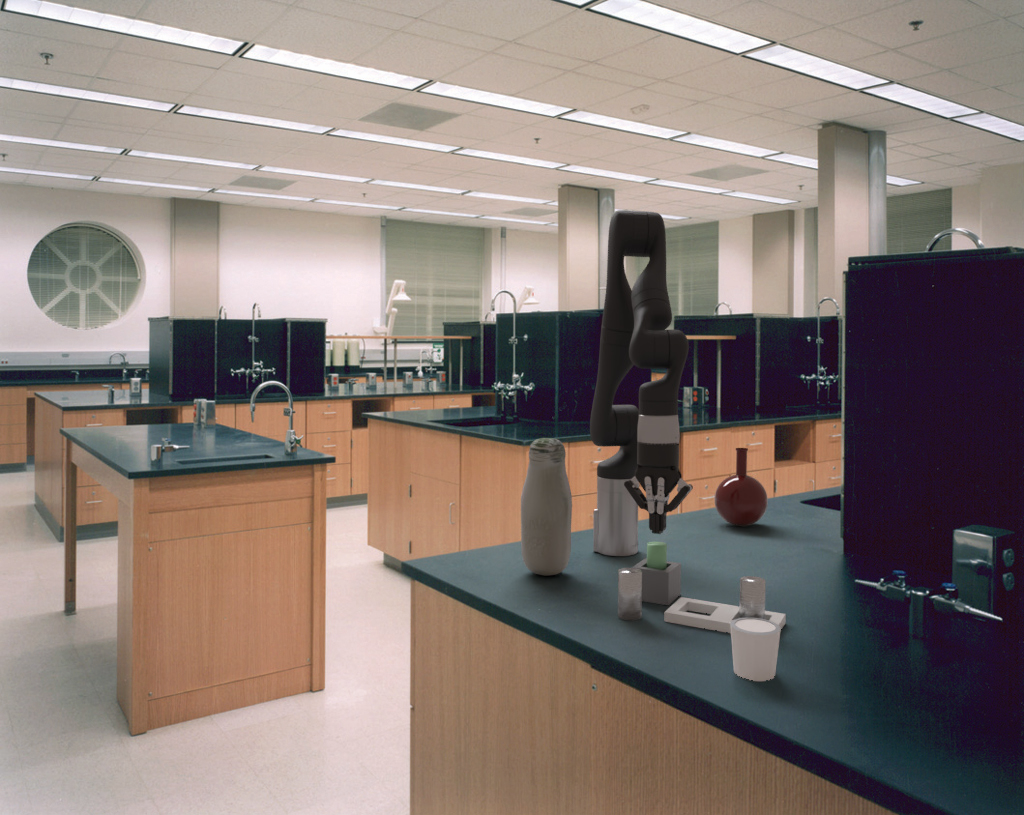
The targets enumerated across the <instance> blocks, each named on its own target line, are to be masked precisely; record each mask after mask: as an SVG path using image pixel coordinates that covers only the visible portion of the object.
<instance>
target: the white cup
mask: <svg viewBox="0 0 1024 815" xmlns="http://www.w3.org/2000/svg"><path fill="white" fill-rule="evenodd" d="M730 628H731V633H730V638H731V639H730V640H731V652H732V663H733V672H734V674H735V675H736V674H737V675H736V676H738V677H739V676H740V677H739V678H741V677H742V678H741V679H744V678H746V679H749V680H748V681H751V680H753V681H752V682H767V681H766V680H768V681H771V680H773V679H774V678H775V677H774V676H776V673H777V672H776V671H777V663H778V657H779V656H778V654H779V646H780V638H781V632H782V630H781V628H780V626H779V625H778V624H776V623H774V622H772V621H768V620H765V619H759V618H738V619H735V620H733V621H732V622H731V623H730ZM746 679H745V680H746ZM770 679H771V680H770Z"/></svg>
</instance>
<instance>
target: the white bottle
mask: <svg viewBox="0 0 1024 815" xmlns="http://www.w3.org/2000/svg"><path fill="white" fill-rule="evenodd" d="M529 446H530V447H529V449H528V460H529V462H528V466H527V470H526V476H525V480H524V483H523V487H522V490H521V495H520V536H521V537H520V538H521V539H520V543H521V545H520V546H521V547H520V548H521V557H522V562H523V563H524V566H525V567H526V568H527V569H528V570H529V571H530V572H532V573H533V574H536V575H540V576H545V577H547V576H554V575H558V574H560V573H561V572H563V571H564V570H565V569H566V568H567V567H568V564H569V561H570V557H571V552H572V550H571V549H572V514H573V513H572V511H573V497H572V496H573V495H572V492H571V486H570V481H569V478H568V474H567V470H566V469H567V468H566V455H567V452H566V449H565V445H564V444H563V442H562V441H561V440H559V439H557V438H552V437H540V438H537V439H534V441H532V442H531V443H530V445H529Z"/></svg>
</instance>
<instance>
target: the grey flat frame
mask: <svg viewBox="0 0 1024 815" xmlns="http://www.w3.org/2000/svg"><path fill="white" fill-rule="evenodd" d="M688 611H689V612H688ZM694 612H696V613H694ZM700 613H702V614H700ZM706 613H707V615H706ZM739 613H740V605H739V606H738V605H732V604H726V603H719V602H713V601H709V600H708V601H707V600H702V599H697V598H696V599H695V598H689V597H684V596H681V597H679V598H678V599H677V600H676V601H675V602H674V603H673V604H671V606H669V607H668V608H667V609H666V610H665V611H664V613H663V614H664V615H663V616H664V617H663V618H664V619H663V620H664V621H663V622H667V623H672V624H676V625H677V624H678V625H682V626H688V627H694V628H699V629H704V628H705V630H711V631H715V630H717V631H716V632H721V633H726V632H728V633H727V634H731V628H730V623H731V622H732V621H733V620H735V619H738V618H739ZM786 616H787V614H786V613H782V612H781V613H780V612H775V611H769V610H765V620H768V621H772V622H774V623H776V624H778V625H779V626H780V628H781V629H782V630H783V628H784V626H785V625H786V619H787V617H786Z"/></svg>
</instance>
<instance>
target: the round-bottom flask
mask: <svg viewBox="0 0 1024 815" xmlns="http://www.w3.org/2000/svg"><path fill="white" fill-rule="evenodd" d="M748 450H749V449H748V448H746V447H735V451H736V459H735V460H736V462H735V463H736V464H735V469H736V470H735V474H734V475H730V476H727V477H726V478H725V479H723V480H722V481H721V482H720V483H719V484H718V486H717V488H716V490H715V493H714V506H715V509H716V511H717V513H718V514H719V516H720V517H721V519H722V520H724V521H726V522H727V523H728V524H730V525H732V526H737V527H747V526H750V525H754V524H756V523H757V522H758V521H759V520H761V519H762V518H763V516H764V515H765V513H766V511H767V508H768V502H769V499H768V498H769V497H768V494H767V491H766V488H765V487H764V485H763V484H762V483H761V482H760V481H759V480H757V479H756V478H754V477H753V476H751V475H748V474H747V473H748V471H747V470H748V465H747V464H748Z"/></svg>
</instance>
